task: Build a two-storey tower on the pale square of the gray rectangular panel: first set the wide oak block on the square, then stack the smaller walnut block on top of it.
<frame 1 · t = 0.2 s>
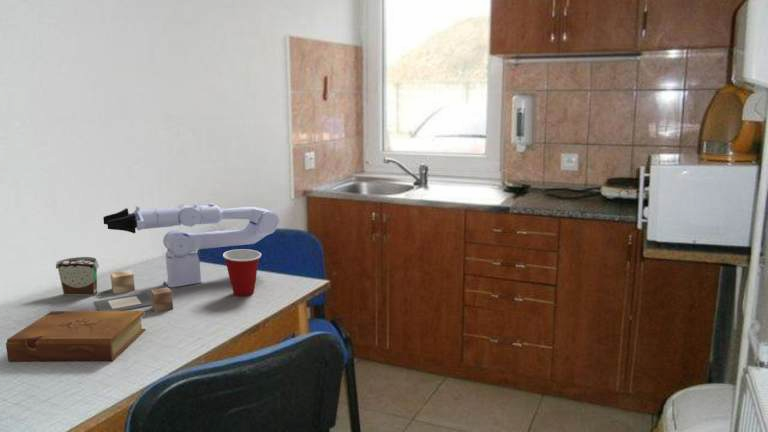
hand: (105, 222, 182), 21 cm above the table, tool horizontal, fingers open, 7 cm apart
gray rectangular panel: (124, 303, 177), on the table
diary: (81, 348, 148), on the table
walnut block: (162, 308, 173), on the table
plastic cup: (244, 293, 185), on the table
food container: (85, 292, 188), on the table
oak block: (123, 289, 190), on the table
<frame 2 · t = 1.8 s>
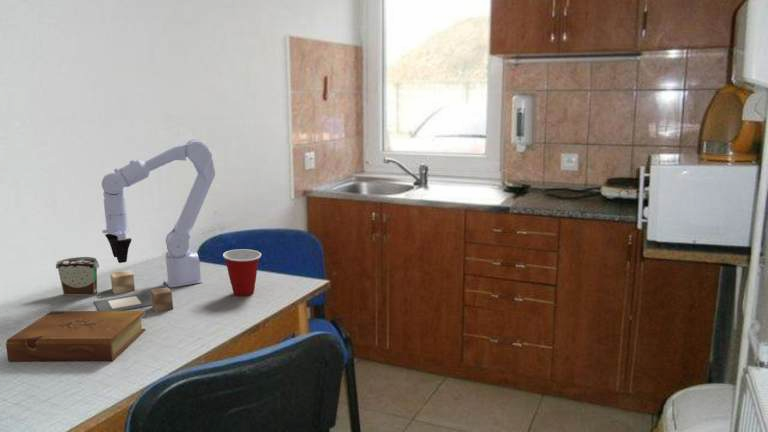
hand: (120, 259, 188), 9 cm above the table, tool pointing down, fingers open, 7 cm apart
nothing on the table moved.
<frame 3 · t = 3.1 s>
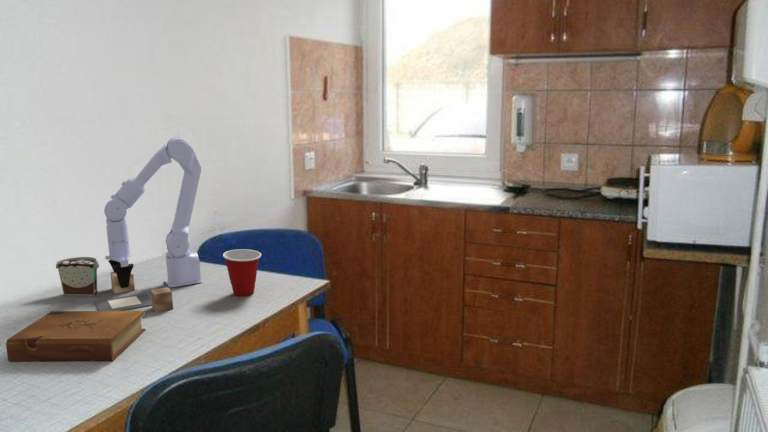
hand: (122, 284, 190), 1 cm above the table, tool pointing down, fingers closed on oak block, 5 cm apart
oak block: (123, 289, 190), on the table, touching gripper
everything else where it was.
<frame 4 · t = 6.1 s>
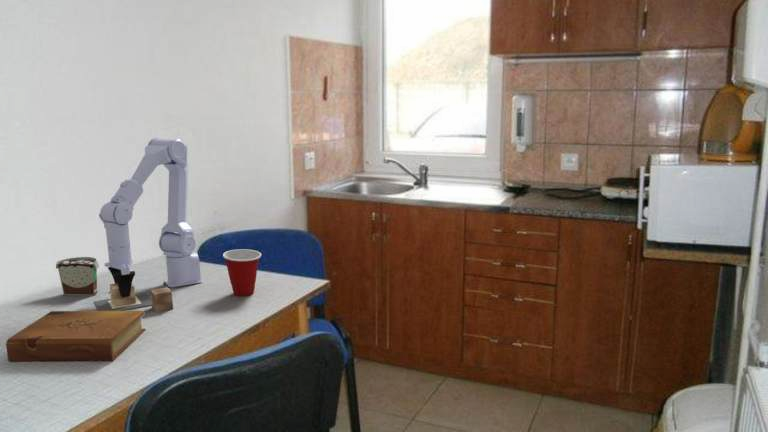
hand: (123, 293, 177), 3 cm above the table, tool pointing down, fingers closed on oak block, 5 cm apart
oak block: (123, 302, 177), resting on gray rectangular panel, touching gripper
everything else where it was.
when the fingers open (3 cm above the table, at t = 6.6 s): oak block stays where it is, resting on gray rectangular panel.
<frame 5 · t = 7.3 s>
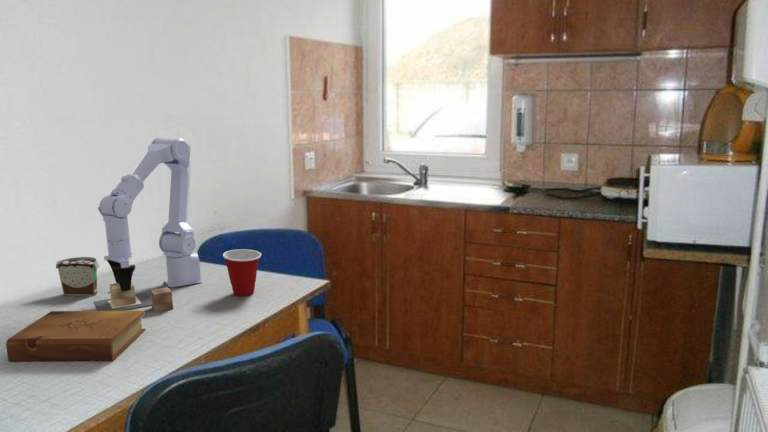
hand: (123, 287, 176), 5 cm above the table, tool pointing down, fingers open, 7 cm apart
oak block: (123, 302, 177), resting on gray rectangular panel
everything else where it was.
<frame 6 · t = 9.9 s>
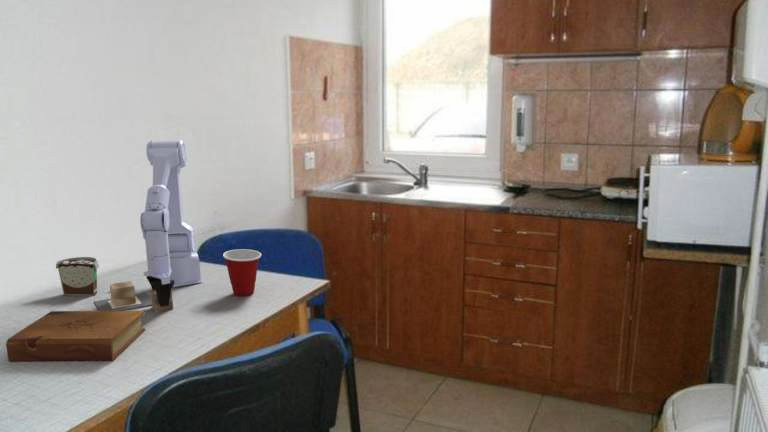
hand: (162, 303, 173), 1 cm above the table, tool pointing down, fingers closed on walnut block, 4 cm apart
walnut block: (162, 308, 173), on the table, touching gripper
everything else where it was.
when the fingers open (8 cm above the table, at t = 12.7 s): walnut block stays where it is, resting on oak block.
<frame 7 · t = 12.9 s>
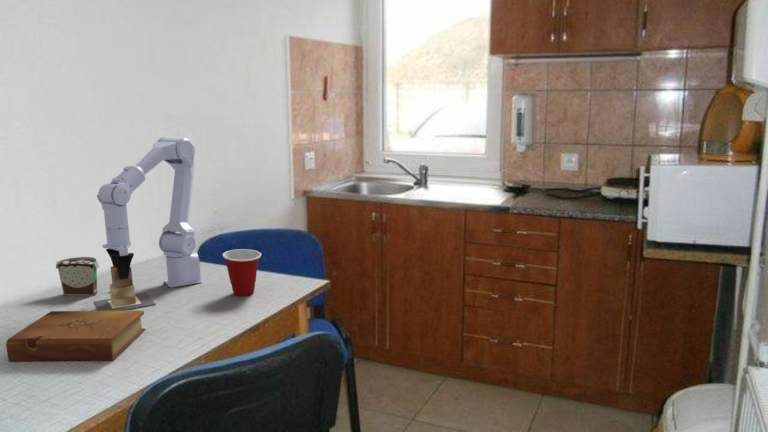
hand: (121, 275, 176), 8 cm above the table, tool pointing down, fingers open, 6 cm apart
walnut block: (122, 284, 176), point 5 cm above the table, touching oak block
oak block: (123, 302, 177), resting on gray rectangular panel, touching walnut block
everything else where it was.
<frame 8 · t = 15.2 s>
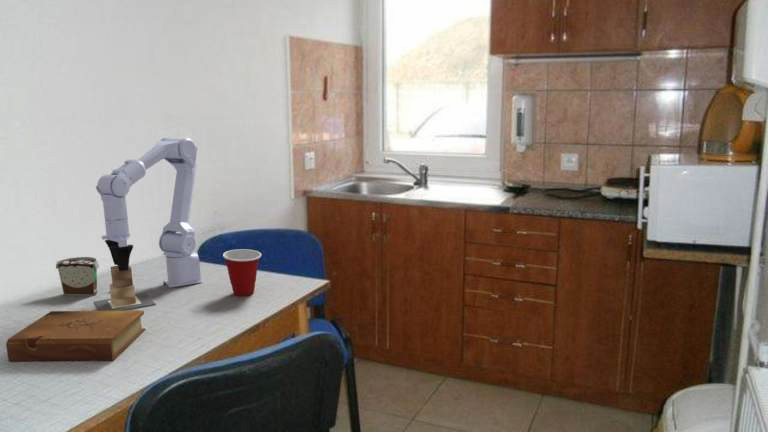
hand: (121, 267, 175), 10 cm above the table, tool pointing down, fingers open, 7 cm apart
nothing on the table moved.
at the end: oak block 0.3 cm from the target spot, resting on gray rectangular panel; walnut block 0.3 cm off-centre on the oak block, point 5.0 cm above the oak block's base; walnut block tilted 0° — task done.
